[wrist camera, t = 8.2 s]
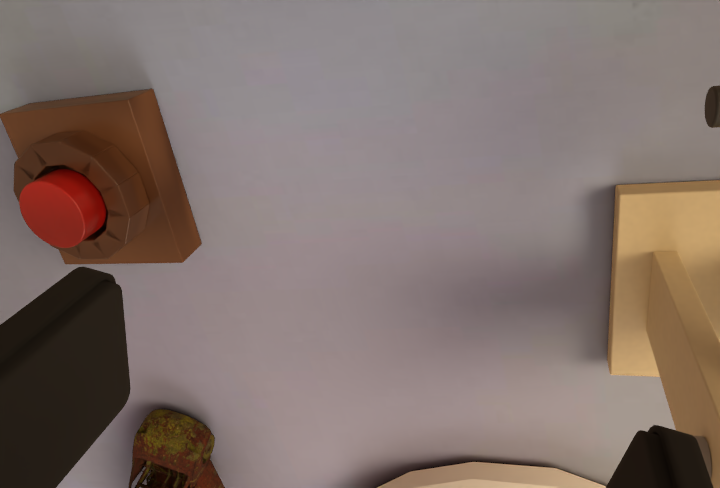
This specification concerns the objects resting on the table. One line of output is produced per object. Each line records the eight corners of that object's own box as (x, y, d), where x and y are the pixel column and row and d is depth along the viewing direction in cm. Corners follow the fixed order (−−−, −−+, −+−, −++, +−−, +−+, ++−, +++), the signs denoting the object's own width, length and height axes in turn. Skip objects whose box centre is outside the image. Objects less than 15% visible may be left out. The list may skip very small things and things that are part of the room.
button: (33, 170, 29) (6, 183, 28) (91, 166, 28) (67, 179, 26) (60, 233, 31) (36, 249, 29) (116, 231, 30) (95, 247, 28)
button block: (29, 103, 32) (-31, 124, 28) (153, 88, 29) (104, 109, 26) (89, 246, 36) (43, 280, 32) (202, 244, 33) (165, 280, 30)
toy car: (226, 523, 46) (197, 581, 42) (147, 494, 47) (111, 549, 43) (236, 422, 40) (203, 479, 36) (145, 391, 41) (102, 443, 37)
